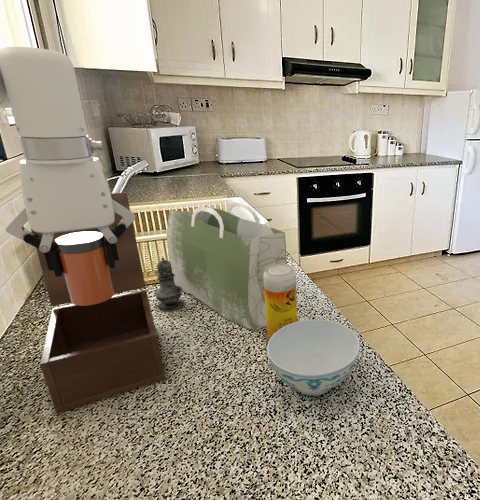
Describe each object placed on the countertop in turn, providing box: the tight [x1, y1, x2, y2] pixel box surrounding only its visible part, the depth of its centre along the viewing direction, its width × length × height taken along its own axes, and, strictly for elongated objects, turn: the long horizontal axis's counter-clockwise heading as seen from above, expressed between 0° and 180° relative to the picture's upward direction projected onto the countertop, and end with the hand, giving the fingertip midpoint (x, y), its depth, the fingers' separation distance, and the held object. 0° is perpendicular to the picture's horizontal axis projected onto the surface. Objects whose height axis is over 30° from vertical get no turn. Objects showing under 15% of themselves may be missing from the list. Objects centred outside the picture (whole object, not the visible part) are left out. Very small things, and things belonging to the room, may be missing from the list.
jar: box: [54, 232, 115, 306], centre depth 58 cm, size 6×6×10 cm
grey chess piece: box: [153, 257, 184, 312], centre depth 84 cm, size 6×6×12 cm
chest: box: [39, 288, 166, 414], centre depth 65 cm, size 18×15×9 cm
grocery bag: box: [166, 201, 287, 332], centre depth 86 cm, size 32×14×23 cm, turn 53°
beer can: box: [263, 263, 298, 340], centre depth 73 cm, size 6×6×15 cm
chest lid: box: [30, 191, 146, 307], centre depth 68 cm, size 19×15×1 cm
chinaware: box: [266, 318, 361, 396], centre depth 62 cm, size 15×15×8 cm
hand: (86, 268), depth 58 cm, fingers closed on jar, 6 cm apart
